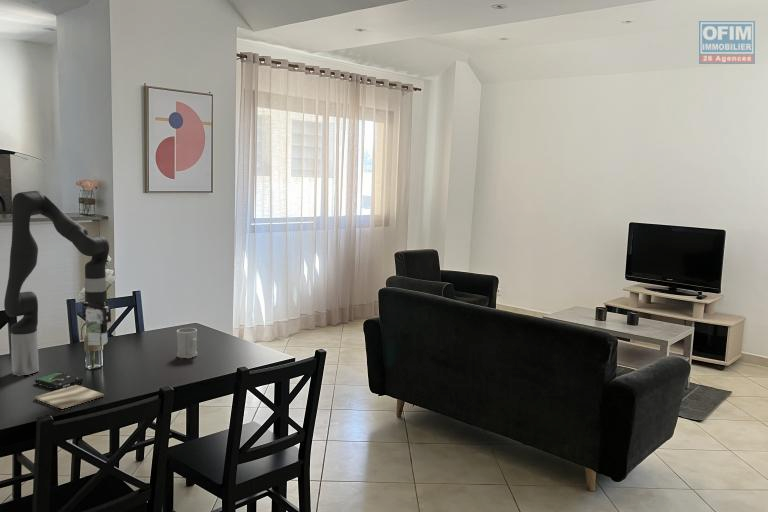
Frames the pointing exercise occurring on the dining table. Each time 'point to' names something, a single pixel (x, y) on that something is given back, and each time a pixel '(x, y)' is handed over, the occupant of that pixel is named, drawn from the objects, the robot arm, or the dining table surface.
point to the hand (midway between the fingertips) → (97, 331)
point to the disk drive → (59, 380)
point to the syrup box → (94, 328)
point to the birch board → (69, 396)
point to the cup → (187, 342)
